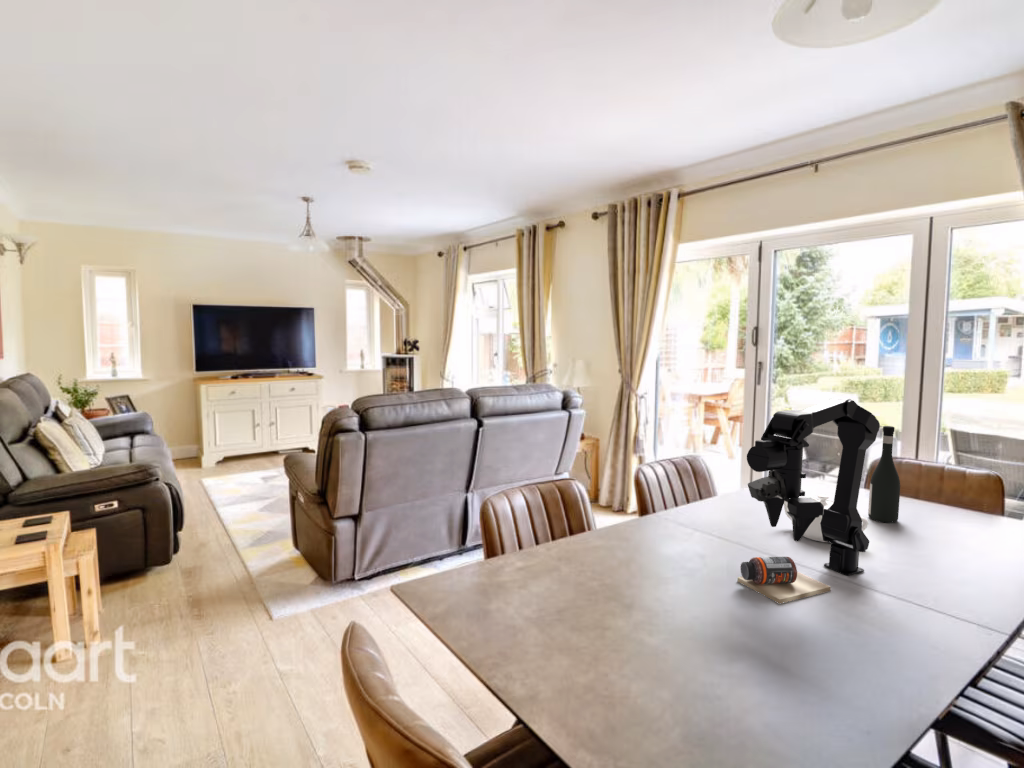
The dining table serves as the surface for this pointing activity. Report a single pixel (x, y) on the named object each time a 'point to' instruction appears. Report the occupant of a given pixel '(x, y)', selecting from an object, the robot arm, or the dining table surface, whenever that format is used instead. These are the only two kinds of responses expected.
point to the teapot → (815, 526)
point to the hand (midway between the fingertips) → (784, 533)
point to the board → (788, 588)
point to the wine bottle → (885, 484)
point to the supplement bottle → (769, 570)
